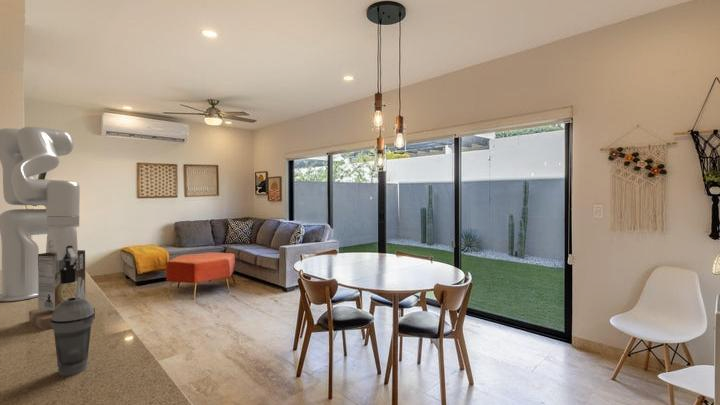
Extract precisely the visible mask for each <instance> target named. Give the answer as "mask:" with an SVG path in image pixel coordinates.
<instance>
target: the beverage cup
mask: <svg viewBox="0 0 720 405" xmlns="http://www.w3.org/2000/svg"><path fill="white" fill-rule="evenodd" d="M80 282H81V277H79V278H78V282H77V289H76V297H75V298H69V299H67V300H64V301H63V302H61V303H60V304H59V305H58V306H57V307H56V308H55V310H54V312H53V314H52V319H51V322H52V328H51V329H52V331H53V335H54V336H53V337H54V345H55V353H56V355H55V356H56V363H57V368H58V375H59V376H61V377H68V376H73V375H74V376H75V375H76V374H77V375H78V374H80V373H82V372H84V371H85V370H86V369H87V364H88V357H89V350H90V349H89V348H90V339H91V331H92V324H93V322H94V318H93V317H94V314H95V315H96V312H95V313H94V310H93V308H94V306H93V304H91V302H90V301H88V300H87V299H86V298H85V299H83V298H79V289H80Z"/></svg>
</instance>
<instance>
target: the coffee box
mask: <svg viewBox="0 0 720 405" xmlns="http://www.w3.org/2000/svg"><path fill="white" fill-rule="evenodd" d="M64 259H69V257H68V255H67V254H65V256H64ZM75 262H76V264H75V265H76V268H75V282H73V283H66V284H62V283H61V270H63V268H62V260H60V261H59V262H58V261H57V255H55V254H52V253H46V252H44V253H39V254H38V298H37V300H38V304H37V308H38V309H45V310H55V308H56V307H57V306H58V305H59V304H60V303H61V302H63V301H64V300H67V299H69V298H75V297H76V289H77V282H78V278H79V277H81V282H80V289H79V298H83V299H86V250H83V249H82V250H81V249H78V250H77V258H76V261H75ZM65 264H67V262H65Z"/></svg>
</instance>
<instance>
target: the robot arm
mask: <svg viewBox="0 0 720 405" xmlns="http://www.w3.org/2000/svg"><path fill="white" fill-rule="evenodd" d="M73 149H74V141H73V138H72V136H71V135H70V133H68V132H67V131H65V130H60V129H54V128H47V127H46V128H45V127H41V126H40V127H39V126H25V127H22V128H11V127H9V128H0V164H1V167H2V192H3V193H2V194H3V199H4V201H5V203H6V204H9V205H11V206H12V205H13V206H43V207H44V208H19V209H18V208H16V209H15V208H14V209H8V210H5V211H3V212H2V213H0V240H1V242H0V243H1V293H0V302H16V301H17V302H18V301H22V300H23V301H24V300H28V299H33V298H34V299H35V298H37V297H38V254H40V253H39V250H40V249H39V246H38V244H37V242H35V241H34V240H33V239H32V238H30V236H36V235H37V236H39V235H40V236H41V235H46V245H45V253H52V254H55V255H57V261H58V262H59V261H60V260H62V268H63V270H61V283H62V284H66V283H73V282H75V268H76V265H75V264H76V262H75V261H76V258H77V250H79V249H78V231H77V228H80V204H81V203H80V192H81V191H80V190H81V189H80V188H81V187H80V184H79V183H78V182H77V181H75V180H74V181H73V180H56V179H40V178H38V179H37V178H36V176H37V175H38V176H39V175H41V174H44V173H48V172H51V171H53V170H54V169H56V168H57V167H58V166H59V164H60V158H59V157H61V156H62V157H63V156H67V155H69V154H71V153H72V151H73ZM65 254H67V255H68V257H69V259H64V256H65ZM65 262H67V264H65Z"/></svg>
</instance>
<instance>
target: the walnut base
mask: <svg viewBox="0 0 720 405" xmlns="http://www.w3.org/2000/svg"><path fill="white" fill-rule="evenodd" d="M93 310H94V313H95V314H94V317H93V319H95V318H96V308H95V307H93ZM53 312H54V310H45V309H39V308H38V309H34V310H32V309H31V310H29V311H28V322H29V323H31V324H33V325H34V326H36V327H37V328H38V329H40V330H42V331H46V330H50V329H53V328H52V322H51V319H52V314H53Z"/></svg>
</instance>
